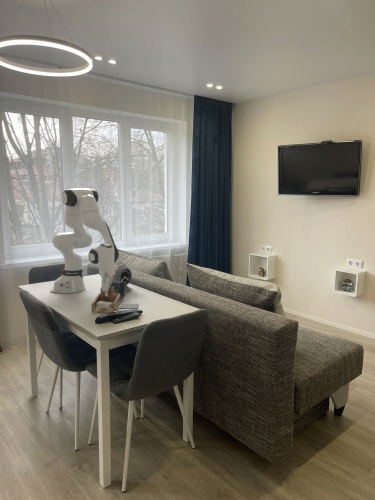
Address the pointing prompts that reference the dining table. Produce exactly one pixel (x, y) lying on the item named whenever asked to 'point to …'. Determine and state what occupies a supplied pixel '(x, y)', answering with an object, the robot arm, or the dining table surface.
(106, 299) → the wooden block
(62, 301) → the dining table surface
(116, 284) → the small box
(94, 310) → the wooden tray
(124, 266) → the alarm clock
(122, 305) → the pad
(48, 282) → the dining table surface
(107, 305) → the offcut top
